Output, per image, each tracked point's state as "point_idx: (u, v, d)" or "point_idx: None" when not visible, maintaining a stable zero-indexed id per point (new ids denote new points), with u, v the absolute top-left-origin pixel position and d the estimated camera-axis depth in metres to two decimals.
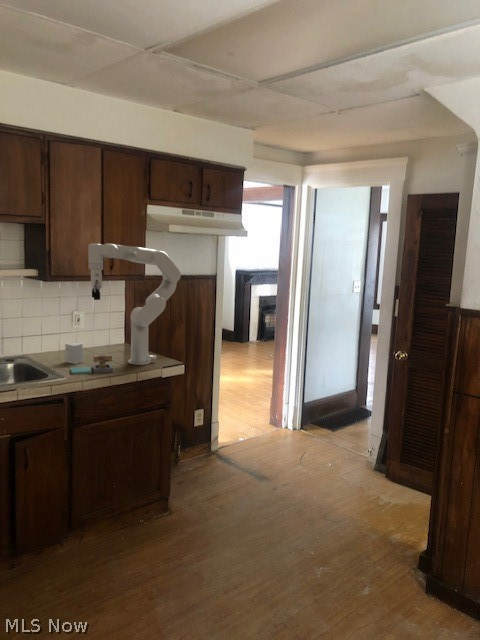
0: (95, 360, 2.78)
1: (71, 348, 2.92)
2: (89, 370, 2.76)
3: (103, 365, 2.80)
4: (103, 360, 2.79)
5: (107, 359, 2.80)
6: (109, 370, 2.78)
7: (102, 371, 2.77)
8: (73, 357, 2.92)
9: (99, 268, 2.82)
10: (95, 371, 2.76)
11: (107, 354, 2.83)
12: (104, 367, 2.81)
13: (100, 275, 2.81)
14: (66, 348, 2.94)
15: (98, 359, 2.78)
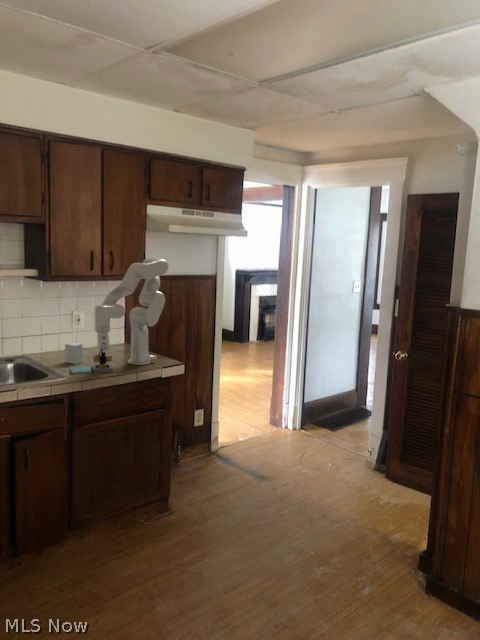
0: (95, 360, 2.78)
1: (71, 348, 2.92)
2: (89, 370, 2.76)
3: (103, 365, 2.80)
4: None
5: (107, 359, 2.80)
6: (109, 370, 2.78)
7: (102, 371, 2.77)
8: (73, 357, 2.92)
9: (106, 330, 2.76)
10: (95, 371, 2.76)
11: (107, 354, 2.83)
12: (104, 367, 2.81)
13: (107, 338, 2.75)
14: (66, 348, 2.94)
15: (98, 359, 2.78)
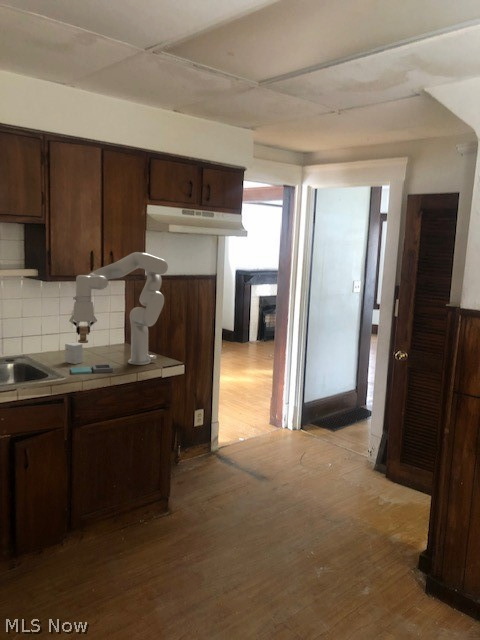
0: None
1: (71, 348, 2.92)
2: (89, 370, 2.76)
3: (80, 336, 2.74)
4: None
5: None
6: (109, 370, 2.78)
7: (102, 371, 2.77)
8: (73, 357, 2.92)
9: (76, 300, 2.70)
10: (95, 371, 2.76)
11: (87, 327, 2.73)
12: (80, 339, 2.74)
13: (74, 307, 2.70)
14: (66, 348, 2.94)
15: None
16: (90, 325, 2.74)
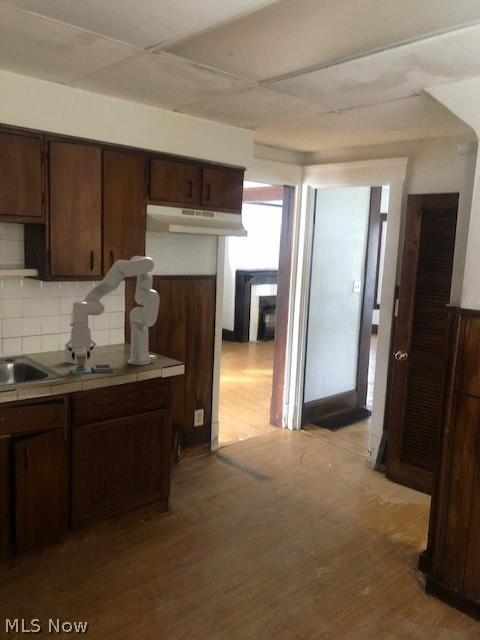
0: None
1: None
2: (89, 370, 2.76)
3: (78, 364, 2.76)
4: (77, 358, 2.76)
5: (77, 359, 2.74)
6: (109, 370, 2.78)
7: (102, 371, 2.77)
8: None
9: (73, 327, 2.71)
10: (95, 371, 2.76)
11: (85, 355, 2.74)
12: (78, 366, 2.76)
13: (71, 334, 2.71)
14: (66, 348, 2.94)
15: None
16: (90, 350, 2.77)
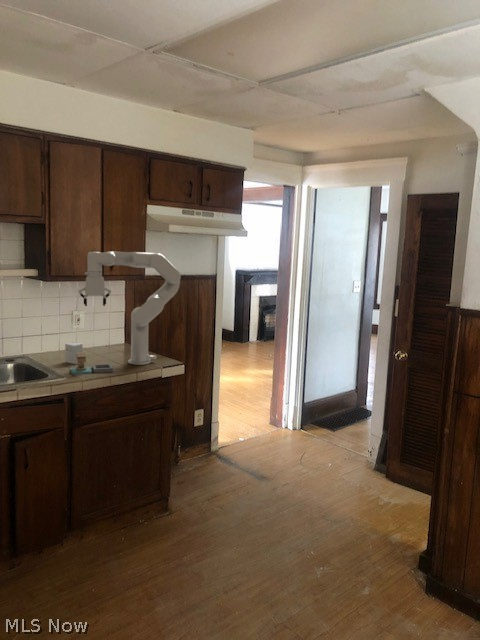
0: (76, 356, 2.80)
1: (71, 348, 2.92)
2: (89, 370, 2.76)
3: (78, 364, 2.77)
4: None
5: (77, 359, 2.74)
6: (109, 370, 2.78)
7: (102, 371, 2.77)
8: (73, 357, 2.92)
9: (88, 275, 2.86)
10: (95, 371, 2.76)
11: (85, 355, 2.75)
12: (78, 366, 2.76)
13: (86, 282, 2.86)
14: (66, 348, 2.94)
15: None
16: (106, 296, 2.91)
